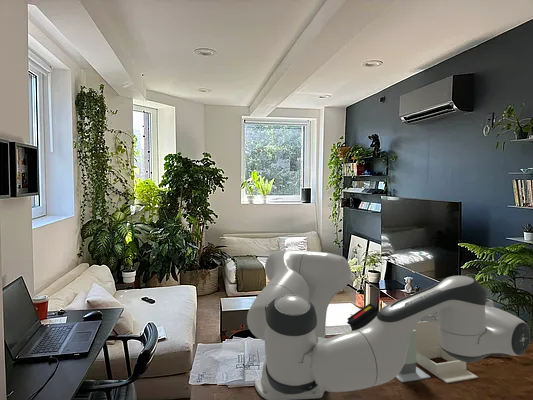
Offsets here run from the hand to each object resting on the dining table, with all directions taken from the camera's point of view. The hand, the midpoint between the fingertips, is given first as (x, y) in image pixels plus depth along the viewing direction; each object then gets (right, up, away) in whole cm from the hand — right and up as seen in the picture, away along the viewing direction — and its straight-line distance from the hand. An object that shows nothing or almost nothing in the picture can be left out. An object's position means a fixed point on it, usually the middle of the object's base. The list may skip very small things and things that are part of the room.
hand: (429, 299), depth 111 cm
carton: (+9, -25, +12) cm, 29 cm away
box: (-4, -25, +10) cm, 27 cm away
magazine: (-11, -25, +29) cm, 40 cm away
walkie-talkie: (+26, -25, +25) cm, 44 cm away
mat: (-4, -25, +10) cm, 27 cm away
